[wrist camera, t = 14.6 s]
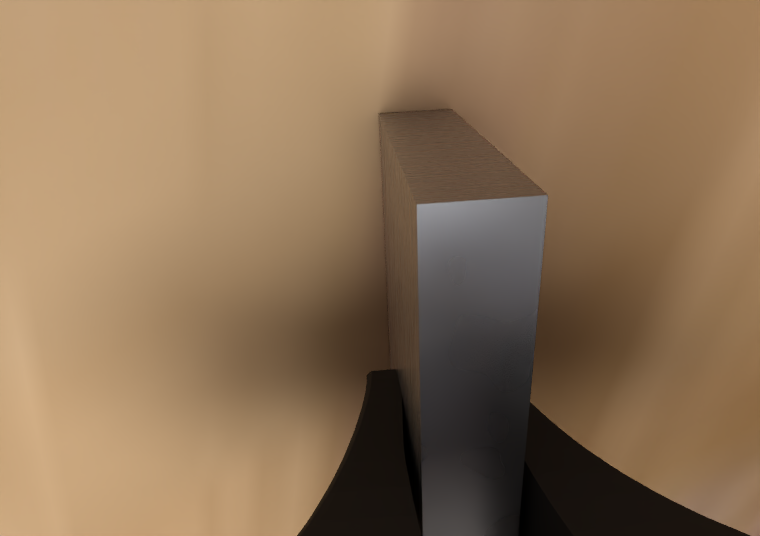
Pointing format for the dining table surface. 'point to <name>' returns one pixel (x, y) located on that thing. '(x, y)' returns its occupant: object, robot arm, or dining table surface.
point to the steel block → (460, 316)
